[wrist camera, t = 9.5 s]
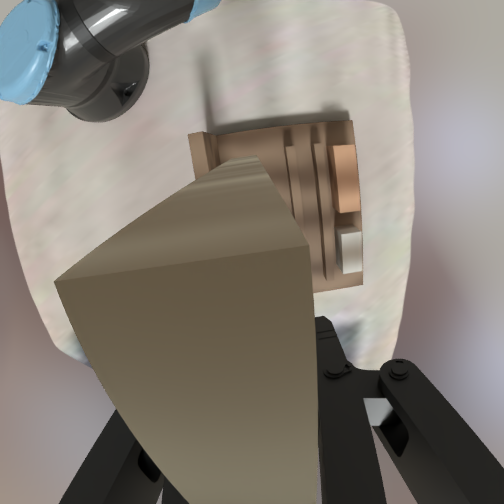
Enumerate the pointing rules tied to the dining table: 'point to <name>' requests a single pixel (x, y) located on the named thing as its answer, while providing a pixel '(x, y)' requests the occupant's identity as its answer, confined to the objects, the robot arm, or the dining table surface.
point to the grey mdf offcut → (348, 248)
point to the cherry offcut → (343, 177)
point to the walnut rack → (294, 183)
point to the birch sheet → (209, 338)
